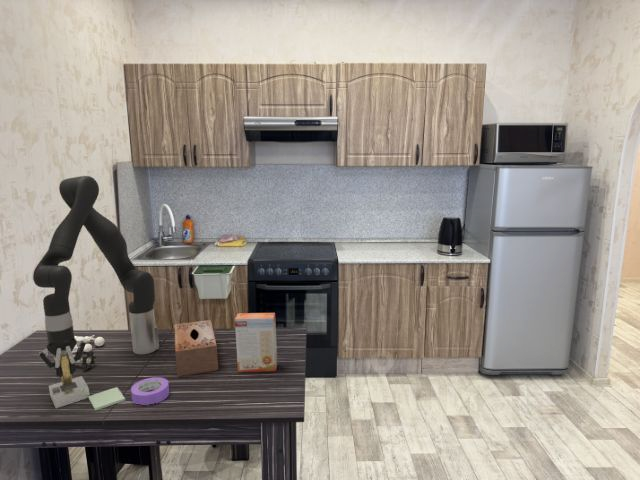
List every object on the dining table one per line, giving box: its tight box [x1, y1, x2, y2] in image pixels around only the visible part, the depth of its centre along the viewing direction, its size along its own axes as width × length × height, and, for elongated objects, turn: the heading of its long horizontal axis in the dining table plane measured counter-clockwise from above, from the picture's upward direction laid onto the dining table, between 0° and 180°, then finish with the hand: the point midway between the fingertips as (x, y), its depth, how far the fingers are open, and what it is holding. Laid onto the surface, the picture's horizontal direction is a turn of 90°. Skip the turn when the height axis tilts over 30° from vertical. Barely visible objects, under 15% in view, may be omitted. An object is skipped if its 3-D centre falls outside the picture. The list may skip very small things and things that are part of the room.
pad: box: [87, 386, 126, 411], centre depth 148 cm, size 9×9×1 cm
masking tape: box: [130, 376, 170, 406], centre depth 150 cm, size 12×12×4 cm
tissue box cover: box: [174, 319, 219, 377], centre depth 176 cm, size 26×14×10 cm, turn 18°
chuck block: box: [48, 375, 91, 409], centre depth 150 cm, size 10×10×4 cm
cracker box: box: [234, 312, 278, 373], centre depth 165 cm, size 14×6×21 cm, turn 89°
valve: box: [73, 351, 97, 370], centre depth 170 cm, size 7×7×12 cm
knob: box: [60, 349, 73, 386], centre depth 148 cm, size 4×4×12 cm
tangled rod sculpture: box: [72, 334, 105, 354], centre depth 187 cm, size 19×14×4 cm
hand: (66, 374), depth 149 cm, fingers closed on knob, 3 cm apart
